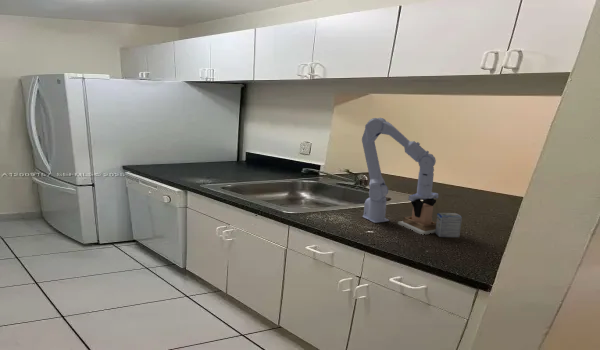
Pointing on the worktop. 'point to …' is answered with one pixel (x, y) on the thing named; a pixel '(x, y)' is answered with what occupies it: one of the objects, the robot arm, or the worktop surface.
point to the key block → (424, 215)
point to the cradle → (418, 226)
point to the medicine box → (448, 224)
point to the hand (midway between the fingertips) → (421, 216)
